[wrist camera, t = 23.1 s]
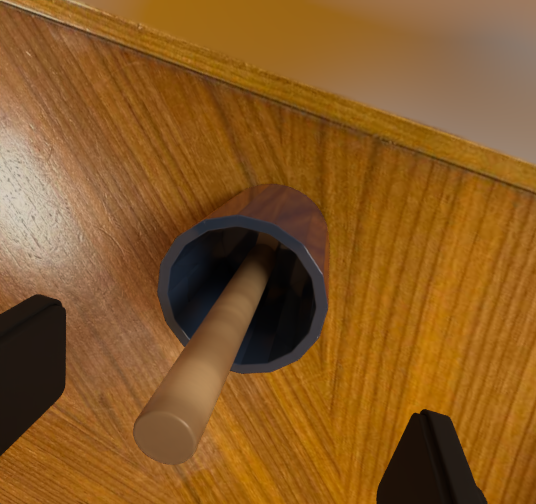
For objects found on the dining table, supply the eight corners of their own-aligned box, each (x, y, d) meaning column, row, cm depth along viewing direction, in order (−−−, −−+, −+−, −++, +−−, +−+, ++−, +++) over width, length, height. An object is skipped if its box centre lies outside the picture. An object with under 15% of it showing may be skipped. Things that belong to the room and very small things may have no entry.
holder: (227, 171, 23) (167, 196, 15) (342, 199, 22) (348, 242, 14) (210, 275, 26) (150, 348, 17) (312, 303, 25) (302, 392, 17)
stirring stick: (266, 216, 23) (142, 379, 8) (290, 224, 23) (209, 405, 8) (253, 258, 24) (122, 471, 9) (276, 265, 24) (181, 494, 9)
